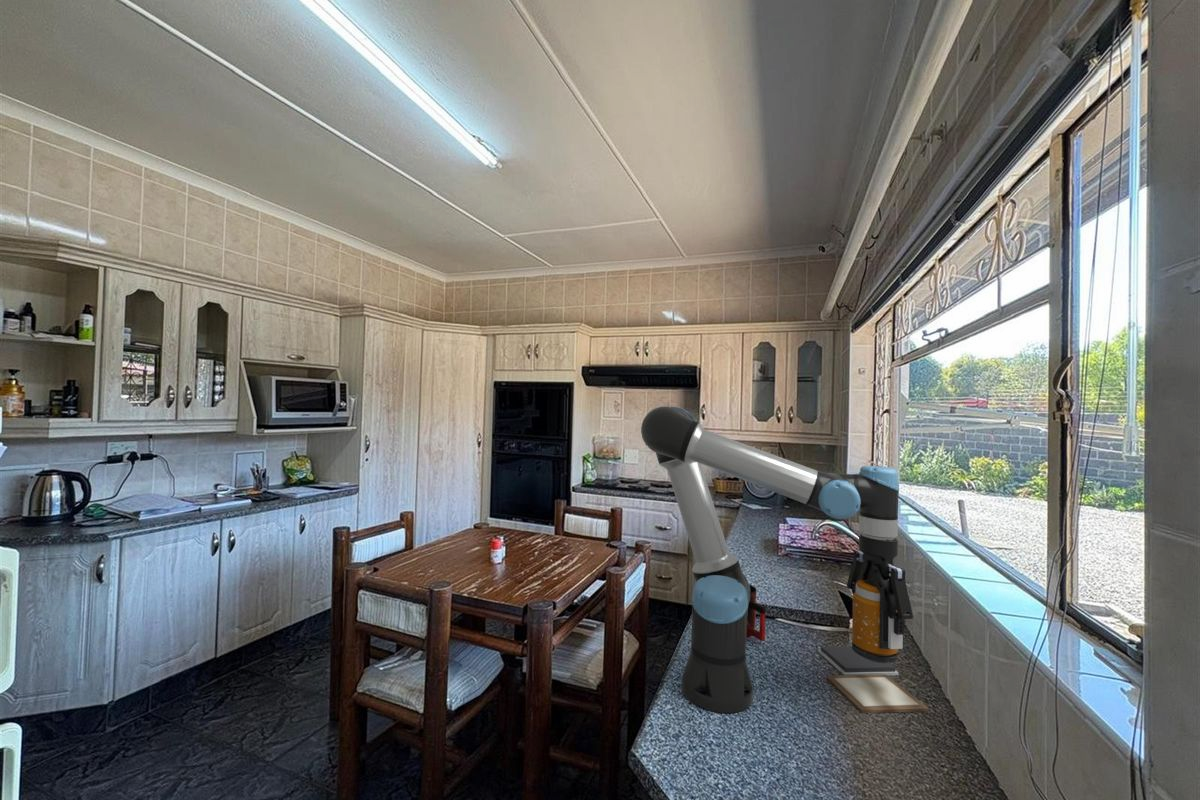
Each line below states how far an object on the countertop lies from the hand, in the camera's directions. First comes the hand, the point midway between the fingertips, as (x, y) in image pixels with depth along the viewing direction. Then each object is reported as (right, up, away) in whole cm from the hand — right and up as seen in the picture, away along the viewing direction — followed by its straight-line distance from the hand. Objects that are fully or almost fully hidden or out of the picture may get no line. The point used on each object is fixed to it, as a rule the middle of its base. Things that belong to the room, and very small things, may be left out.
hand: (876, 635), depth 106 cm
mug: (-21, -13, +28) cm, 37 cm away
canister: (0, -5, 0) cm, 5 cm away
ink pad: (+3, -13, +13) cm, 19 cm away
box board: (-1, -13, 0) cm, 13 cm away
